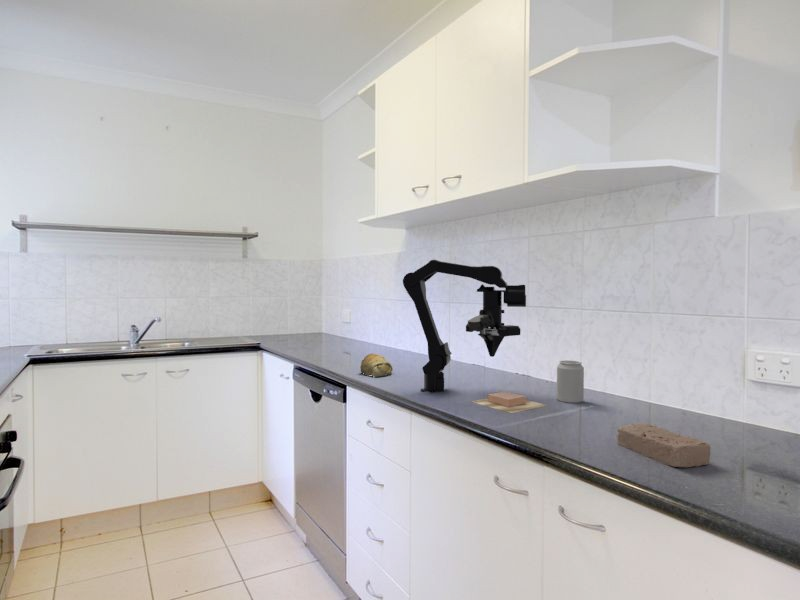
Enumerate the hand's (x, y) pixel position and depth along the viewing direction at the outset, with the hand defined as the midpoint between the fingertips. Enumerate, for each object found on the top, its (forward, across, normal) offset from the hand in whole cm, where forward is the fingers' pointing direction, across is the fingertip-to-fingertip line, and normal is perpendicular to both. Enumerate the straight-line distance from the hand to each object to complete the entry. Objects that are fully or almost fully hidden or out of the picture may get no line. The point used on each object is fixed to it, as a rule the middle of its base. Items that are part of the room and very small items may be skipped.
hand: (491, 356), depth 156 cm
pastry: (+12, -52, -11) cm, 54 cm away
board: (+12, +13, -6) cm, 19 cm away
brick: (+13, +59, -10) cm, 61 cm away
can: (+12, +20, +12) cm, 26 cm away
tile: (+10, +8, -6) cm, 14 cm away
